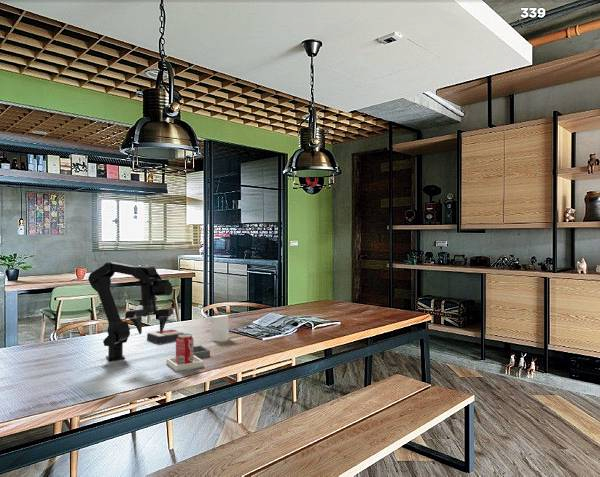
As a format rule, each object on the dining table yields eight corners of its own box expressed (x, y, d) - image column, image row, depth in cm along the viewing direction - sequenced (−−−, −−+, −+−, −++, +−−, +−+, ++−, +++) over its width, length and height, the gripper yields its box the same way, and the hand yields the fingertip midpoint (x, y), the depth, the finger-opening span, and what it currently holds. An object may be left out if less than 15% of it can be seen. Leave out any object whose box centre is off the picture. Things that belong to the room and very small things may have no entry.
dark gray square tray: (179, 354, 196) (179, 348, 196) (200, 350, 202) (201, 345, 202) (187, 359, 188) (187, 353, 188) (209, 356, 194) (210, 350, 194)
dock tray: (166, 364, 182) (166, 358, 182) (193, 359, 188) (193, 354, 188) (175, 371, 172) (176, 365, 172) (203, 366, 179) (203, 361, 179)
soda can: (192, 360, 185) (193, 332, 184) (194, 366, 178) (194, 336, 178) (175, 362, 182) (175, 333, 182) (176, 367, 176) (176, 337, 176)
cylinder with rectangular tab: (216, 342, 218) (216, 318, 218) (207, 338, 225) (207, 315, 225) (231, 339, 224) (231, 316, 224) (222, 336, 231) (222, 313, 231)
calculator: (184, 332, 224) (158, 335, 213) (184, 340, 224) (158, 344, 213) (173, 328, 232) (147, 331, 221) (172, 336, 232) (146, 340, 220)
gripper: (117, 300, 176) (119, 338, 176) (161, 297, 174) (163, 336, 173) (131, 296, 187) (133, 332, 187) (172, 294, 185) (175, 330, 185)
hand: (150, 333), depth 183 cm, fingers open, 9 cm apart
